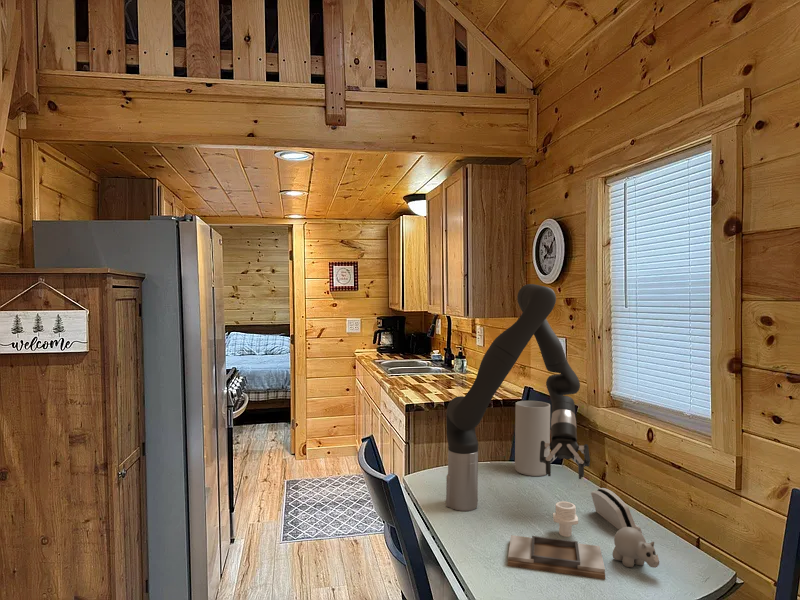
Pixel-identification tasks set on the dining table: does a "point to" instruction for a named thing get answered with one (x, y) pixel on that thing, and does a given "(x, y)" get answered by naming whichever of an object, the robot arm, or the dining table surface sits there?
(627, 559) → the chubby cartoon animal
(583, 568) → the base
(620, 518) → the white striped curved block
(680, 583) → the dining table surface
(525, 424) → the cylinder vase
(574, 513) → the pipe fitting
